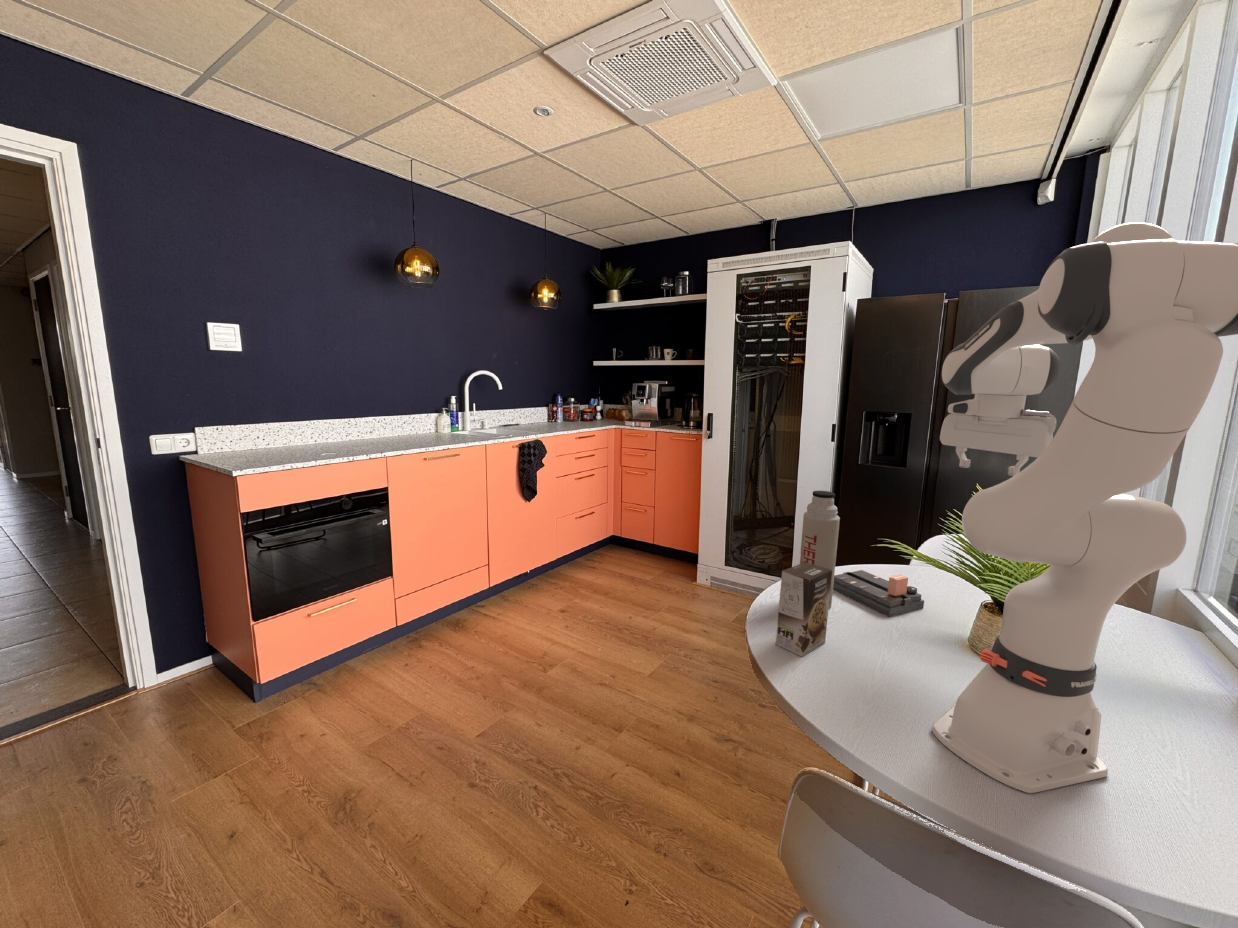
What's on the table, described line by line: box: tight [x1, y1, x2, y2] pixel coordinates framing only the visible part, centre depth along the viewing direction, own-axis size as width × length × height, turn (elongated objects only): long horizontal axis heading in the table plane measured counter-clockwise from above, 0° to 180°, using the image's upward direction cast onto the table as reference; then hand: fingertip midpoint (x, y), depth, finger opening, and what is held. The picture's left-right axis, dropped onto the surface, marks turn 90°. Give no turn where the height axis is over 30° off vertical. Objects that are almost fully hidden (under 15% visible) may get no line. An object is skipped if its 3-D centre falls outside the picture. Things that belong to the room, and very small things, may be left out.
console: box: [833, 569, 925, 618], centre depth 128 cm, size 12×18×4 cm, turn 25°
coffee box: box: [775, 562, 832, 657], centre depth 104 cm, size 9×6×16 cm
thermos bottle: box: [799, 490, 841, 611], centre depth 122 cm, size 8×8×28 cm
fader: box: [888, 574, 909, 598], centre depth 122 cm, size 4×2×6 cm, turn 115°
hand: (987, 471), depth 112 cm, fingers open, 8 cm apart
